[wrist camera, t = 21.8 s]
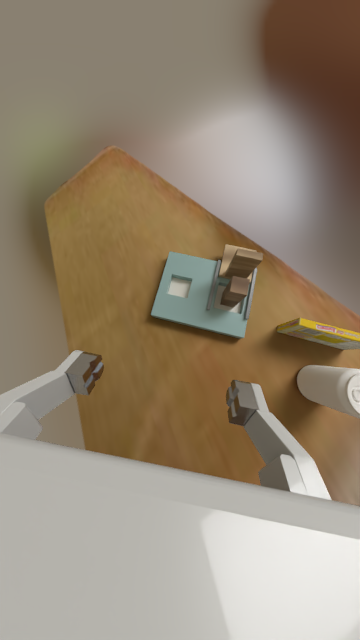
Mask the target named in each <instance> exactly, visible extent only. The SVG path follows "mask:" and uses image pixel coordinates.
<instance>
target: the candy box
mask: <svg viewBox="0 0 360 640" xmlns="http://www.w3.org/2000/svg"><path fill="white" fill-rule="evenodd" d="M277 332H279V333H283V334H286V335H290V336H294V337H298V338H301V339H305V340H308V341H312V342H316V343H320V344H323V345H327V346H331V347H334V348H338V349H342V350H347V349H360V333H356V332H353V331H349V330H345V329H341V328H337V327H333V326H329V325H326V324H322V323H318V322H314V321H310V320H306V319H302V318H298V319H295V320H292V321H289V322H287V323H284V324H281V325H278V327H277Z"/></svg>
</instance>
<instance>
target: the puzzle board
mask: <svg viewBox="0 0 360 640" xmlns="http://www.w3.org/2000/svg"><path fill="white" fill-rule="evenodd" d="M220 267H221V260H218V262H217V261H213V260H208V259H203V258H199V257H194V256H189V255H185V254H180V253H175V252H171V251H170V252H169V256H168V259H167V262H166V266H165V269H164V272H163V276H162V279H161V282H160V286H159V289H158V292H157V296H156V299H155V302H154V306H153V309H152V312H151V316H152V317H155V318H159V319H163V320H167V321H171V322H175V323H179V324H183V325H187V326H191V327H195V328H199V329H203V330H207V331H211V332H215V333H219V334H223V335H227V336H231V337H235V338H239V339H241V338H244V335H245V329H246V324H247V319H249V313H250V308H251V302H252V296H253V290H254V285H255V279H256V273H257V268H255V269H254V271H253V273H252V279H251V283H250V284H249V288H248V293H247V296H246V297H245V298H244V299H242V300H241V301H240V302H239V303H238V304H237V305H236V306H235V307H234V308H233V307H229V306H224V305H220V303H221V298H222V293H223V291H224V289H225V288H226V286H227V285H228V283H229V281H230V280H231V279H226V278H222V277H218V276H219V271H220Z"/></svg>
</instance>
